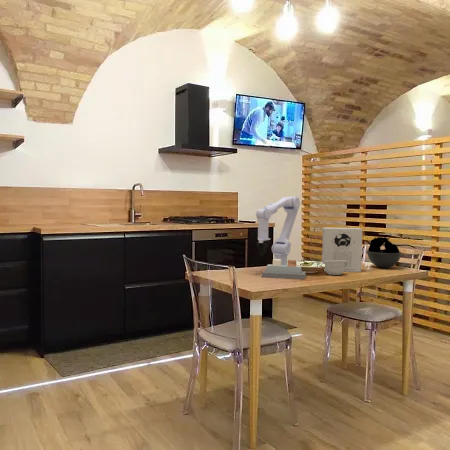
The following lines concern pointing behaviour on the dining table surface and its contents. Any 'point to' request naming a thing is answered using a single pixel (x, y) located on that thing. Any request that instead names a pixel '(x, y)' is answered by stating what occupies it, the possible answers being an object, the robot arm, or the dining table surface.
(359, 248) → the cereal box
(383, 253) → the coal bowl
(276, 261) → the crate cream
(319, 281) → the dining table surface
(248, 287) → the dining table surface
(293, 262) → the crate terracotta
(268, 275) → the block
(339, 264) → the teacup
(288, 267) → the grey rectangular bar
